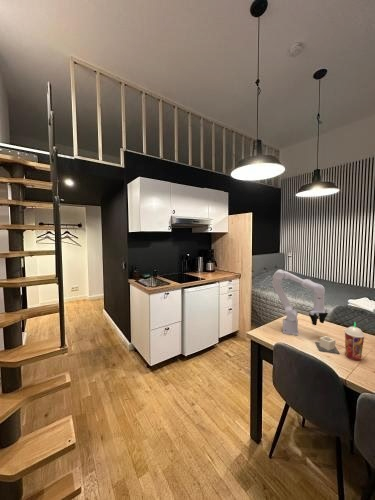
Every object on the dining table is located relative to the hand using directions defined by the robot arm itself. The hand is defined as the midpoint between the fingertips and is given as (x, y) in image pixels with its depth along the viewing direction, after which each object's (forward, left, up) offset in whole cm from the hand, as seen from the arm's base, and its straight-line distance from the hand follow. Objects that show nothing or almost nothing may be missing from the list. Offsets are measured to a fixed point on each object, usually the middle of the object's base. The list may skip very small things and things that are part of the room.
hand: (317, 323), depth 137 cm
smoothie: (+13, -19, -10) cm, 25 cm away
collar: (+2, -13, -9) cm, 16 cm away
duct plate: (+2, -13, -9) cm, 16 cm away
